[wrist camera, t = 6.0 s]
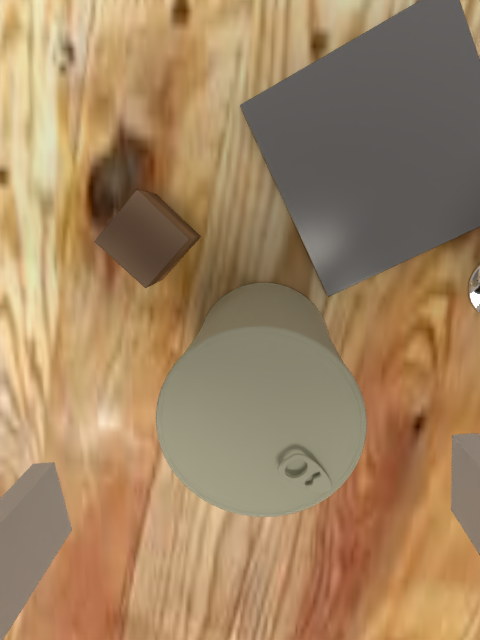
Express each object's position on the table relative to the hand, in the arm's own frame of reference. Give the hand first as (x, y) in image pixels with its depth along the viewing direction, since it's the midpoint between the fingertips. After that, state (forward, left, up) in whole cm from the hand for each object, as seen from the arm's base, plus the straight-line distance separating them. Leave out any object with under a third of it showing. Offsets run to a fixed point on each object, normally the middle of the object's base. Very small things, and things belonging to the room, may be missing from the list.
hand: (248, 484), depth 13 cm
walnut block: (+3, -10, -16) cm, 19 cm away
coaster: (-12, -8, -16) cm, 21 cm away
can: (0, 0, -16) cm, 16 cm away
